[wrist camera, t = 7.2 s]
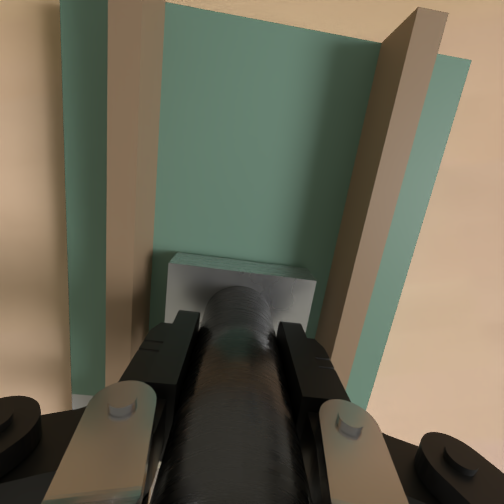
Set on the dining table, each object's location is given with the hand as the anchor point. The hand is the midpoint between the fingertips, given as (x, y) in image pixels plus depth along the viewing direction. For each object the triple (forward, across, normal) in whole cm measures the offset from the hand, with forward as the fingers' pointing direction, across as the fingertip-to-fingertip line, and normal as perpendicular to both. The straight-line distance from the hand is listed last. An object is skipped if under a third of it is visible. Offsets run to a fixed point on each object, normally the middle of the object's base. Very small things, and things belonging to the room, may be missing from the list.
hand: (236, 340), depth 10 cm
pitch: (+5, 0, 0) cm, 5 cm away
